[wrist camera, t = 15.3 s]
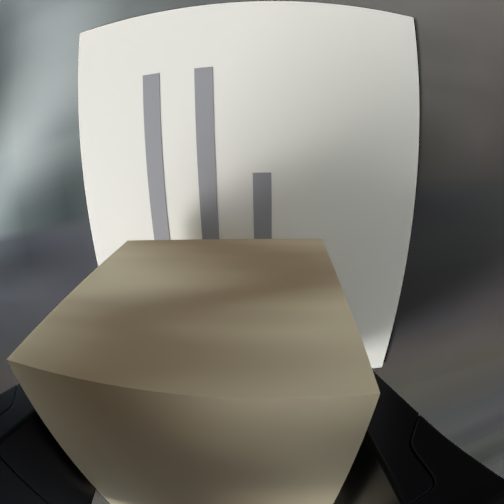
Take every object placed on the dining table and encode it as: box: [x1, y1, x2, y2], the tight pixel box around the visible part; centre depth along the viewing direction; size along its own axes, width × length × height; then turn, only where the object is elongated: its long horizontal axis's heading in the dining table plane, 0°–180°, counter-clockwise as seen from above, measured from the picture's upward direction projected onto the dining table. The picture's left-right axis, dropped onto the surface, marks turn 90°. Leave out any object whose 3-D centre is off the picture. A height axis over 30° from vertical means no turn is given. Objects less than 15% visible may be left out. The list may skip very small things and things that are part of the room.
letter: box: [78, 1, 419, 368], centre depth 9 cm, size 12×10×1 cm
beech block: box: [7, 239, 380, 504], centre depth 6 cm, size 5×5×5 cm
